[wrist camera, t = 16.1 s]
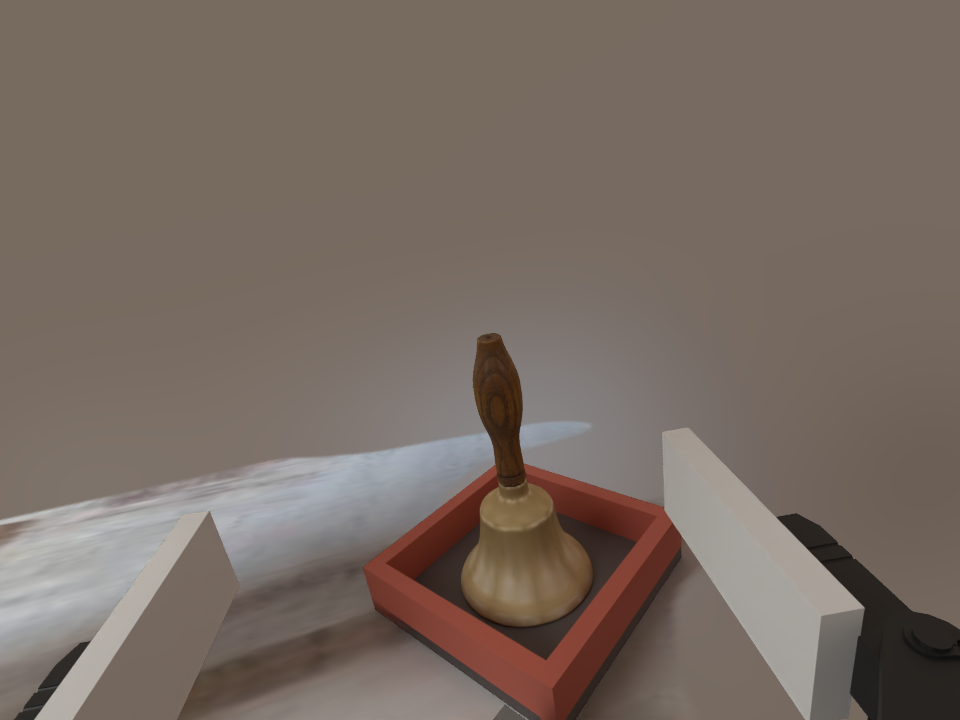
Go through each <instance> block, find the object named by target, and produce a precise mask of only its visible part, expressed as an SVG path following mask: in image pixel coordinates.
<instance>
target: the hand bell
mask: <svg viewBox="0 0 960 720" xmlns="http://www.w3.org/2000/svg"><path fill="white" fill-rule="evenodd" d="M473 388H474V395H475V401H476V405H477V408H478V412H479V415H480V418H481V420H482V423H483V424H484V427H485V428H486V430H487V432H488V434H489V436H490V438H491V441H492V444H493V448H494V455H495V464H496V471H497V480H498V483H499V487H498V488H496V489H494V490H493V491H491V492H490V493H489V494H488V495H487V496H486V497H485V498H484V499H483V501H482V503H481V506H480V538H479V543H478V544H477V545H476V546H475V547H474V548H473V550H472V551H471V553H470V554H469V556H468V557H467V559H466V561H465V564H464V566H463V570H462V573H461V587H462V591H463V594H464V597H465V599H466V600H467V602H468V604H469V605H470V606H471V607H472V608H473V609H474V610H475V611H476V612H477V613H478V614H479V615H481V616H483V617H484V618H486V619H488V620H490V621H493V622H495V623H498V624H501V625H506V626H512V627H532V626H539V625H543V624H546V623H550V622H553V621H555V620H558V619H560V618H562V617H564V616H566V615H568V614H569V613H571V612H572V611H573V610H574V609H575V608H576V607H577V606H579V605H580V604H581V602H582V601H583V600H584V598H585V597H586V595H587V593H588V592H589V590H590V587H591V584H592V579H593V568H592V563H591V560H590V558H589V556H588V554H587V552H586V551H585V549H584V548H583V547H582V545H581V544H580V543H579V542H578V541H577V540H576V539H574V538H573V537H572V536H570V535H569V534H567V533H566V532H564V531H563V530H562V528H561V526H560V524H559V521H558V518H557V515H556V512H555V508H554V504H553V500H552V498H551V496H550V495H549V494H548V493H547V491H545V490H544V489H543V488H541V487H539V486H536V485H534V484H530V483H527V479H526V472H525V468H524V463H523V459H522V453H521V448H520V440H519V433H520V426H521V420H522V410H523V406H522V405H523V404H522V392H521V385H520V379H519V376H518V373H517V370H516V368H515V366H514V363H513V362H512V359H511V357H510V356H509V354H508V352H507V350H506V348H505V346H504V344H503V341H502V338H501V336H500V335H499V334H496V333H491V334H485V335H482V336H480V337H478V339H477V353H476V359H475V365H474V372H473Z"/></svg>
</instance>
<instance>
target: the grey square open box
mask: <svg viewBox="0 0 960 720" xmlns="http://www.w3.org/2000/svg"><path fill="white" fill-rule="evenodd" d="M493 720H525V719H524V718H522V717H521V716H520V715H518V714H517V713H516V712H514V711H513V710H511V709H510V708H509V707H507V706H506V705H504V707H503V708H502V709H501V710H500V712H499V713H498V714H497V716H496V717H495V718H494V719H493Z"/></svg>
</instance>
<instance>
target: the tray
mask: <svg viewBox="0 0 960 720" xmlns="http://www.w3.org/2000/svg"><path fill="white" fill-rule="evenodd" d="M524 468H525V472H526V479H527V483H530V484H534V485H536V486H539V487H541V488H543V489H544V490H545V491H547V493H548V494H549V495H550V496H551V498H552V500H553V504H554V508H555V512H556V515H557V518H558V521H559V524H560V526H561V528H562V530H563V531H564V532H566V533H567V534H569V535H570V536H572V537H573V538H574V539H576V540H577V541H578V542H579V543H580V544H581V545H582V547H583V548H584V549H585V551H586V552H587V554H588V556H589V558H590V560H591V563H592V568H593V579H592V584H591V587H590V590H589V592H588V593H587V595H586V597H585V598H584V600H583V601H582V602H581V604H580V605H579V606H577V607H576V608H575V609H574V610H573V611H572V612H571V613H569V614H568V615H566V616H564V617H562V618H560V619H558V620H555V621H553V622H550V623H546V624H543V625H539V626H532V627H512V626H506V625H501V624H498V623H495V622H493V621H490V620H488V619H486V618H484V617H483V616H481V615H479V614H478V613H477V612H476V611H475V610H474V609H473V608H472V607H471V606H470V605H469V604H468V602H467V600H466V599H465V597H464V594H463V591H462V587H461V573H462V570H463V566H464V564H465V561H466V559H467V557H468V556H469V554H470V553H471V551H472V550H473V548H474V547H475V546H476V545H477V544H478V543H479V538H480V506H481V503H482V501H483V499H484V498H485V497H486V496H487V495H488V494H489V493H490V492H491V491H493V490H494V489H496V488H498V487H499V483H498V480H497V471H496V465H495V466H493V467H492V468H491V469H489V470H488V471H487V472H485V473H484V474H483V475H482V476H480V477H479V478H478V479H476V480H475V481H474V482H472V483H471V484H470V485H469V486H467V487H466V488H465V489H463V490H462V491H461V492H460V493H458V494H457V495H456V496H454V497H453V498H452V499H450V500H449V501H448V502H447V503H445V504H444V505H443V506H441V507H440V508H439V509H438V510H436V511H435V512H434V513H432V514H431V515H430V516H428V517H427V518H426V519H425V520H423V521H422V522H421V523H419V524H418V525H417V526H415V527H414V528H413V529H412V530H410V531H409V532H408V533H406V534H405V535H404V536H403V537H401V538H400V539H399V540H397V541H396V542H395V543H393V544H392V545H391V546H390V547H388V548H387V549H386V550H384V551H383V552H382V553H381V554H379V555H378V556H377V557H375V558H374V559H373V560H371V561H370V562H369V563H368V564H366V565H365V566H364V567H363V569H364V573H365V576H366V580H367V583H368V586H369V590H370V593H371V596H372V600H373V603H374V607H375V610H377V611H378V612H380V613H381V614H382V615H384V616H385V617H387V618H388V619H389V620H391V621H392V622H394V623H395V624H396V625H398V626H399V627H401V628H402V629H403V630H405V631H406V632H408V633H409V634H410V635H412V636H413V637H415V638H416V639H417V640H419V641H420V642H422V643H423V644H424V645H426V646H427V647H429V648H430V649H431V650H433V651H434V652H436V653H437V654H438V655H440V656H441V657H443V658H444V659H445V660H447V661H448V662H450V663H451V664H452V665H454V666H455V667H457V668H458V669H459V670H461V671H462V672H464V673H465V674H466V675H468V676H469V677H471V678H472V679H473V680H475V681H476V682H477V683H479V684H480V685H482V686H483V687H484V688H486V689H487V690H489V691H490V692H491V693H493V694H494V695H496V696H497V697H498V698H500V699H501V700H503V701H504V702H505V703H507V704H508V705H510V706H511V707H512V708H514V709H515V710H517V711H518V712H519V713H521V714H522V715H524V716H525V717H526V718H528V719H529V720H575V718H576V717H577V715H578V714H579V712H580V711H581V709H582V708H583V706H584V705H585V703H586V702H587V700H588V698H589V697H590V695H591V694H592V692H593V691H594V689H595V688H596V686H597V685H598V683H599V682H600V680H601V679H602V677H603V676H604V674H605V673H606V671H607V669H608V668H609V666H610V665H611V663H612V662H613V660H614V659H615V657H616V656H617V654H618V653H619V651H620V650H621V648H622V647H623V645H624V643H625V642H626V640H627V639H628V637H629V636H630V634H631V633H632V631H633V630H634V628H635V627H636V625H637V624H638V622H639V621H640V619H641V618H642V616H643V614H644V613H645V611H646V610H647V608H648V607H649V605H650V604H651V602H652V601H653V599H654V598H655V596H656V595H657V593H658V592H659V590H660V588H661V587H662V585H663V584H664V582H665V581H666V579H667V578H668V576H669V575H670V573H671V572H672V570H673V569H674V567H675V566H676V564H677V563H678V561H679V559H680V558H681V534H680V533H679V531H678V530H677V528H676V527H675V525H674V524H673V522H672V521H671V519H670V518H669V516H668V515H667V513H666V512H665V510H664V507H661V506H658V505H654V504H651V503H648V502H645V501H642V500H638V499H635V498H632V497H628V496H626V495H622V494H619V493H616V492H613V491H610V490H606V489H603V488H600V487H597V486H594V485H590V484H587V483H584V482H581V481H578V480H575V479H571V478H568V477H565V476H562V475H558V474H555V473H552V472H549V471H545V470H542V469H539V468H536V467H533V466H530V465H527V464H524Z"/></svg>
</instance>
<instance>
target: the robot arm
mask: <svg viewBox="0 0 960 720" xmlns="http://www.w3.org/2000/svg"><path fill="white" fill-rule="evenodd" d="M662 436H663V475H664V510H665V512H666V513H667V515H668V516H669V518H670V519H671V521H672V522H673V524H674V525H675V527H676V528H677V530H678V531H679V533H680V534H681V536H682V537H683V539H684V540H685V542H686V543H687V545H688V546H689V548H690V549H691V551H692V552H693V554H694V555H695V557H696V558H697V560H698V561H699V562H700V564H701V565H702V567H703V568H704V570H705V571H706V573H707V574H708V576H709V577H710V579H711V580H712V582H713V583H714V585H715V586H716V588H717V589H718V591H719V592H720V594H721V595H722V597H723V598H724V600H725V601H726V602H727V604H728V606H729V607H730V608H731V610H732V612H733V613H734V615H735V616H736V617H737V619H738V620H739V622H740V623H741V625H742V626H743V628H744V629H745V631H746V632H747V634H748V635H749V637H750V638H751V640H752V641H753V643H754V644H755V646H756V647H757V649H758V650H759V651H760V653H761V654H762V656H763V658H764V659H765V661H766V662H767V664H768V665H769V666H770V668H771V669H772V671H773V672H774V674H775V675H776V677H777V678H778V680H779V681H780V683H781V684H782V686H783V687H784V689H785V690H786V692H787V693H788V695H789V696H790V698H791V699H792V701H793V702H794V703H795V705H796V707H797V708H798V710H799V711H800V713H801V714H802V716H803V717H804V719H805V720H840V719H845V718H848V716H849V709H850V702H851V696H852V697H853V698H854V699H855V700H856V702H857V703H858V704H859V705H860V707H861V708H862V709H863V711H864V712H865V713H866V714H867V716H868V720H960V630H959V629H958V628H956V627H955V626H953V625H951V624H950V623H948V622H946V621H944V620H941V619H938V618H936V617H934V616H931V615H928V614H923V613H917V612H913V611H911V610H910V609H909V608H908V607H907V606H906V605H905V604H904V603H903V602H902V601H900V600H899V599H898V598H897V597H896V596H895V595H894V594H893V593H892V592H891V591H890V590H889V589H888V588H886V587H885V586H884V585H883V584H882V583H881V582H880V581H879V580H878V579H876V577H875V576H874V575H872V574H871V573H870V572H869V571H868V570H867V569H866V568H865V567H864V566H863V565H862V564H860V563H859V562H858V561H857V560H856V559H853V557H852V555H851V554H850V553H849V552H848V551H846V550H845V549H844V548H843V547H842V546H839V545H838V542H837V541H836V540H835V539H833V537H832V536H830V535H829V534H828V533H827V532H826V531H825V530H824V529H823V528H822V527H821V526H819V525H817V524H816V523H814V522H812V521H810V520H808V519H806V518H804V517H802V516H800V515H799V514H797V513H796V514H791V515H785V516H779V517H775V516H774V515H773V514H772V513H771V512H770V511H769V510H768V509H767V508H766V507H765V506H764V505H763V504H762V503H761V502H760V501H759V499H758V498H756V496H755V495H754V494H753V493H752V492H751V491H750V490H749V489H748V488H747V487H746V486H745V485H744V484H743V483H742V482H741V481H740V480H739V479H738V478H737V477H736V476H735V475H734V474H733V473H732V472H731V471H730V470H729V469H728V468H727V467H726V466H725V465H724V464H723V463H722V462H721V461H720V460H719V459H718V458H717V457H716V456H715V454H714V453H713V452H712V451H711V450H710V449H709V448H708V447H707V446H706V445H705V444H704V443H703V442H702V441H701V440H700V439H699V438H698V437H697V436H696V435H695V434H694V433H693V432H692V431H691V430H690V429H689V428H682V429H677V430H671V431H665V432H662ZM238 588H239V583H238V581H237V578H236V576H235V573H234V571H233V568H232V566H231V563H230V561H229V558H228V556H227V553H226V551H225V548H224V546H223V543H222V541H221V538H220V536H219V533H218V531H217V528H216V526H215V523H214V521H213V518H212V516H211V513H210V511H204V512H199V513H193V514H187V515H182V517H181V518H180V519H179V521H178V522H177V523H176V525H175V526H174V528H173V529H172V530H171V532H170V533H169V534H168V536H167V537H166V539H165V540H164V541H163V543H162V544H161V545H160V547H159V548H158V550H157V551H156V552H155V554H154V555H153V557H152V558H151V559H150V561H149V562H148V563H147V565H146V566H145V568H144V569H143V570H142V572H141V573H140V574H139V576H138V577H137V579H136V580H135V581H134V583H133V584H132V586H131V587H130V588H129V590H128V591H127V592H126V594H125V595H124V597H123V598H122V599H121V601H120V602H119V603H118V605H117V606H116V608H115V609H114V610H113V612H112V613H111V615H110V616H109V617H108V619H107V620H106V621H105V623H104V624H103V626H102V627H101V628H100V630H99V631H98V632H97V634H96V635H95V637H94V638H93V639H92V641H89V642H83V643H80V644H79V645H78V646H77V647H75V648H74V649H73V650H72V651H71V652H70V653H69V654H68V655H66V656H65V657H64V658H63V659H62V660H61V661H60V662H59V663H58V664H56V666H55V667H54V668H53V669H52V671H51V672H50V673H49V675H48V676H47V677H46V679H45V680H44V681H43V683H42V684H41V685H40V687H39V688H38V689H39V690H38V692H37V693H34V694H33V696H32V697H31V698H30V700H29V701H28V702H27V704H26V705H25V706H24V710H23V712H21V713H19V714H18V716H17V717H16V718H15V719H14V720H177V719H178V717H179V715H180V713H181V710H182V708H183V706H184V704H185V702H186V700H187V698H188V695H189V693H190V691H191V689H192V687H193V685H194V682H195V680H196V678H197V676H198V674H199V672H200V670H201V667H202V665H203V663H204V661H205V659H206V657H207V655H208V652H209V650H210V648H211V646H212V644H213V642H214V640H215V637H216V635H217V633H218V631H219V629H220V627H221V624H222V622H223V620H224V618H225V616H226V614H227V612H228V609H229V607H230V605H231V603H232V601H233V599H234V597H235V594H236V592H237V590H238Z"/></svg>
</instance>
